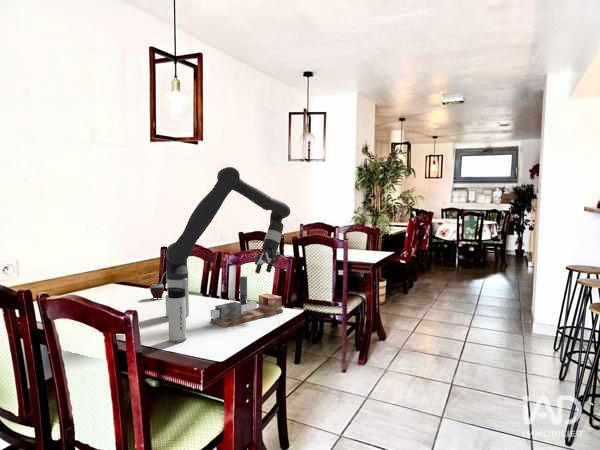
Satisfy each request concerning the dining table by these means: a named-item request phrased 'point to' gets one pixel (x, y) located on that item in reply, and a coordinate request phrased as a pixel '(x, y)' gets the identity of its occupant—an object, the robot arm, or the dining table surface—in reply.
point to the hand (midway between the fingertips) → (262, 272)
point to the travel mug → (177, 314)
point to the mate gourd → (157, 289)
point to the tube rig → (234, 316)
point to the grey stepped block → (243, 300)
